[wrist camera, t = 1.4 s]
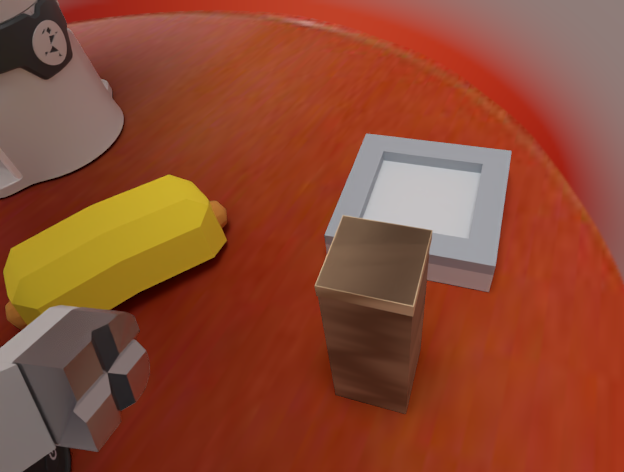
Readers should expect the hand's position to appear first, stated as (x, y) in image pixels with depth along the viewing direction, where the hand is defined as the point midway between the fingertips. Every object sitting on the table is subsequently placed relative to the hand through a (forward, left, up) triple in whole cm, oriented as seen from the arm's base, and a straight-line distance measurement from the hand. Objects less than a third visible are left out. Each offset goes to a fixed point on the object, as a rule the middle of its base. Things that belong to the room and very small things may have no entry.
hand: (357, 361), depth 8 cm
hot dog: (-24, +14, -24) cm, 37 cm away
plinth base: (-3, +25, -24) cm, 35 cm away
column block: (-3, +11, -24) cm, 26 cm away
